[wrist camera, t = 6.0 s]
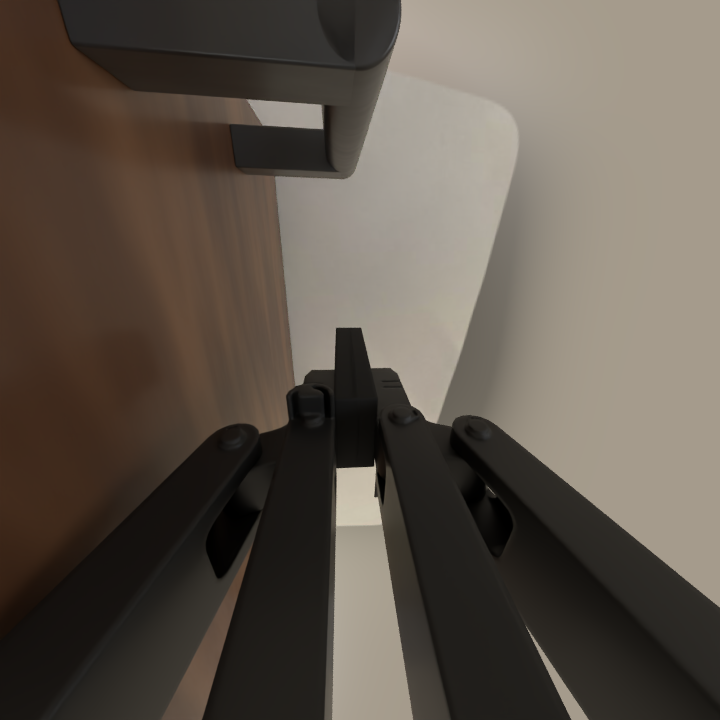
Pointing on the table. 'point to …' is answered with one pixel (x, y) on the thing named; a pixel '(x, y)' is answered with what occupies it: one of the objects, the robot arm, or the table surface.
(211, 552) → the robot arm
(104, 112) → the door
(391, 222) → the table surface
